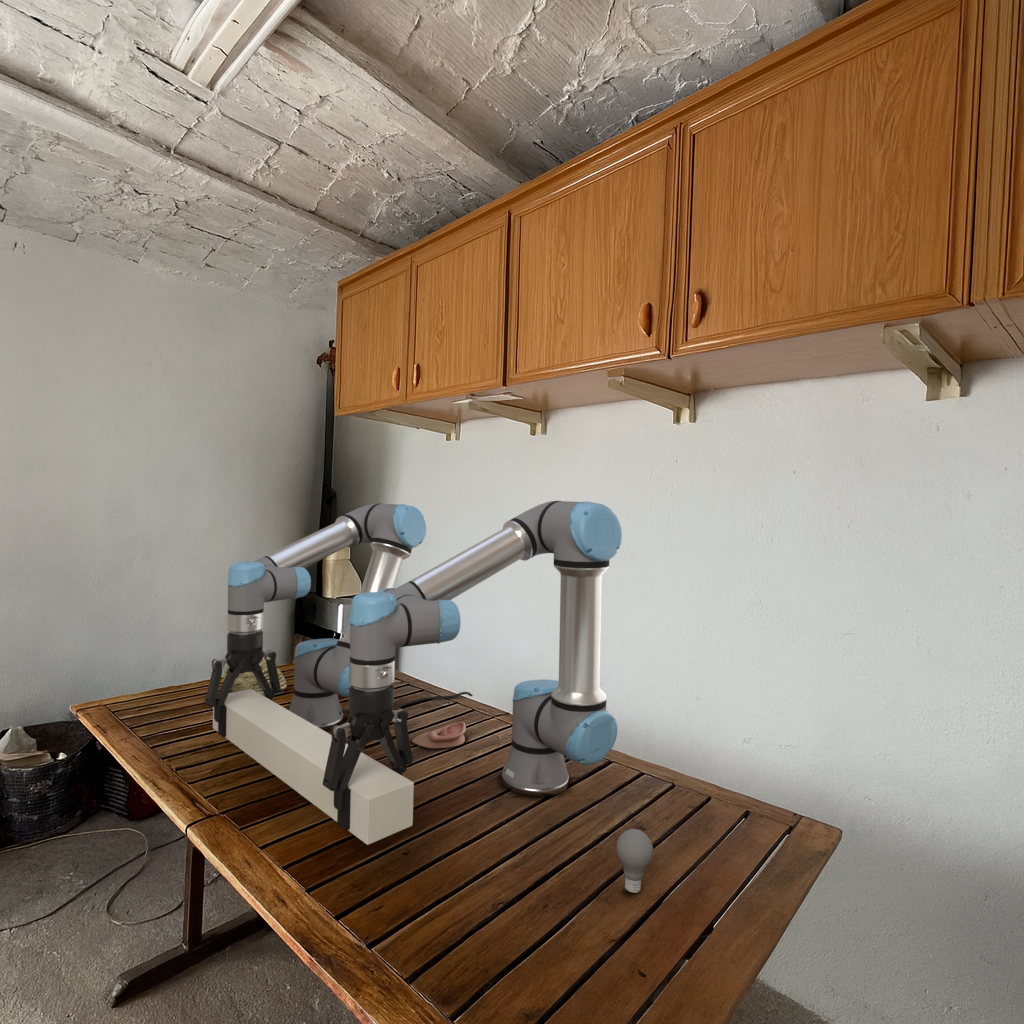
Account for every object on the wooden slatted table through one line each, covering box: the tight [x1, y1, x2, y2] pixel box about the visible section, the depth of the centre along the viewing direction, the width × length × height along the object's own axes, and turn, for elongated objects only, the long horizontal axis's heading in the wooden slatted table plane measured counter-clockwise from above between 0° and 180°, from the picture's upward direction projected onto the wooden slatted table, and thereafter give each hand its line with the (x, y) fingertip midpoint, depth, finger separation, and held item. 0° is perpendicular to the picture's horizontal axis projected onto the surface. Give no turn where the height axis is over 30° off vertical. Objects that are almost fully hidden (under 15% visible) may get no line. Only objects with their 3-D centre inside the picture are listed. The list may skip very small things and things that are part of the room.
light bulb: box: [615, 828, 654, 894], centre depth 106 cm, size 6×6×10 cm
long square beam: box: [212, 689, 415, 846], centre depth 125 cm, size 65×9×7 cm, turn 45°
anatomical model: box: [411, 721, 467, 749], centre depth 167 cm, size 13×4×12 cm
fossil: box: [222, 649, 288, 696], centre depth 198 cm, size 9×18×15 cm, turn 132°
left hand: (243, 729), depth 144 cm, fingers closed on long square beam, 9 cm apart
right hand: (368, 816), depth 108 cm, fingers closed on long square beam, 9 cm apart
